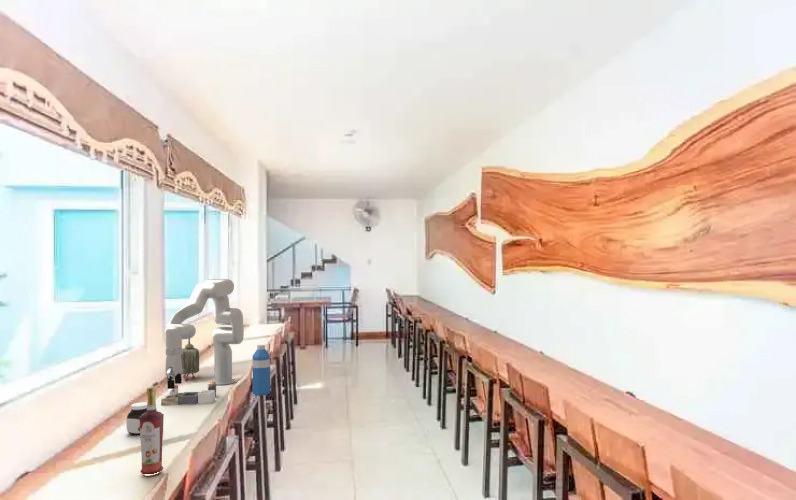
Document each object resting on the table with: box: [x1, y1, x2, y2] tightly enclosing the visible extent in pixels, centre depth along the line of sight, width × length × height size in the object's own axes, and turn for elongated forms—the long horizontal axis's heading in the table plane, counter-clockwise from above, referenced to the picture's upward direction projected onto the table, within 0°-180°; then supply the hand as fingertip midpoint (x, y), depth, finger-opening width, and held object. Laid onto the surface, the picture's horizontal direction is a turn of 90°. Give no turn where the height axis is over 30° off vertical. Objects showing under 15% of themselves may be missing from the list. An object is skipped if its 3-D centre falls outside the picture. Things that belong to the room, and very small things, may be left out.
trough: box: [160, 392, 183, 406], centre depth 280 cm, size 12×8×3 cm, turn 2°
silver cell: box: [169, 384, 179, 398], centre depth 280 cm, size 4×4×7 cm
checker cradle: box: [178, 391, 200, 406], centre depth 279 cm, size 9×9×4 cm
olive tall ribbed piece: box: [181, 338, 200, 382], centre depth 333 cm, size 14×9×25 cm, turn 25°
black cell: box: [207, 381, 217, 398], centre depth 289 cm, size 4×4×7 cm
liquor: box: [139, 386, 165, 475], centre depth 186 cm, size 7×7×28 cm
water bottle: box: [252, 344, 271, 396], centre depth 295 cm, size 9×9×25 cm
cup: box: [197, 389, 216, 405], centre depth 278 cm, size 6×6×5 cm
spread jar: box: [125, 401, 148, 437], centre depth 232 cm, size 12×11×12 cm
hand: (174, 385), depth 280 cm, fingers open, 9 cm apart
